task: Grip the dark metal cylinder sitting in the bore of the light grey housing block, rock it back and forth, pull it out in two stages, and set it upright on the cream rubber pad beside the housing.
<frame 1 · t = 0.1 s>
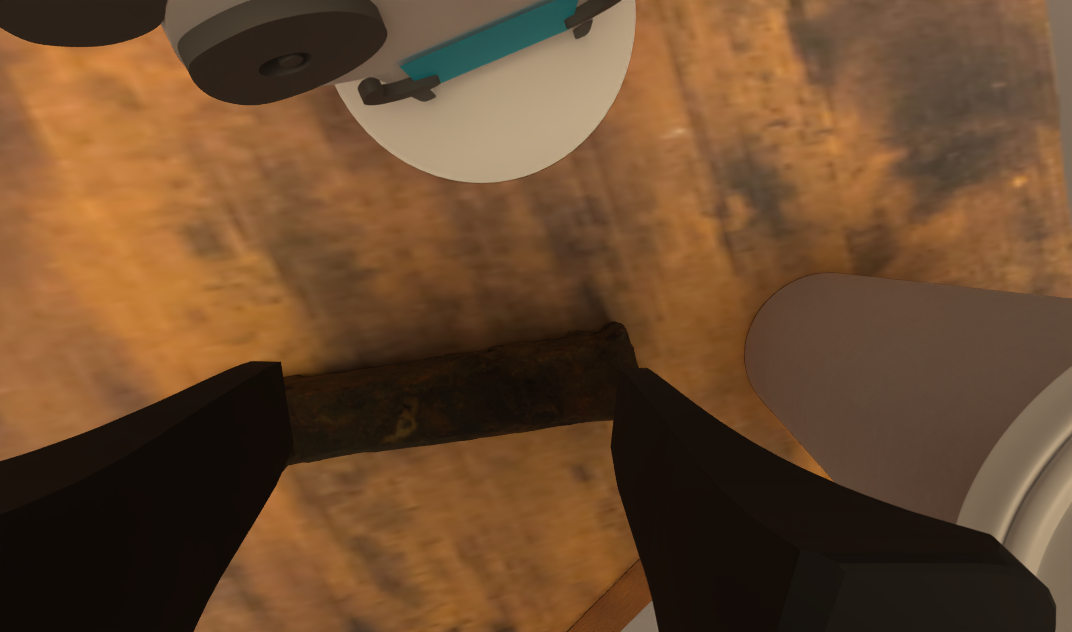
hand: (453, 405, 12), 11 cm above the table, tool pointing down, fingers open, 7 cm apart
panda figurine: (470, 26, 20), on the table
hand tool: (406, 396, 23), on the table
coffee cup: (816, 346, 23), on the table
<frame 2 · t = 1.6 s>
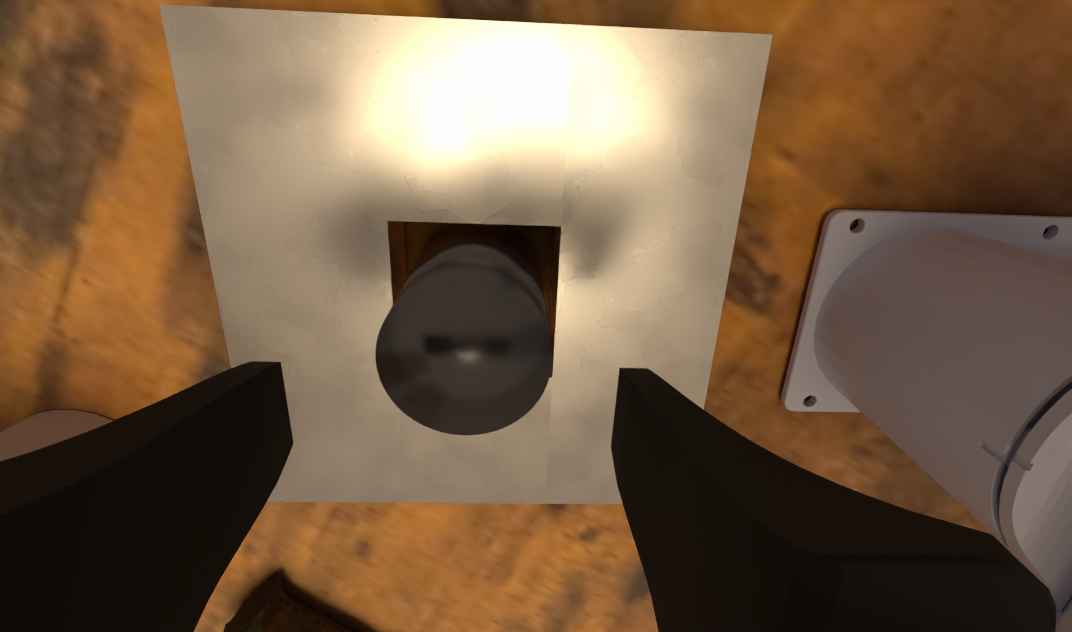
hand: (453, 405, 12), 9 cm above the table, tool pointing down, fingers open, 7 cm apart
housing block: (479, 279, 20), on the table
dark metal cylinder: (473, 312, 17), in the housing block
coffee cup: (92, 473, 22), on the table
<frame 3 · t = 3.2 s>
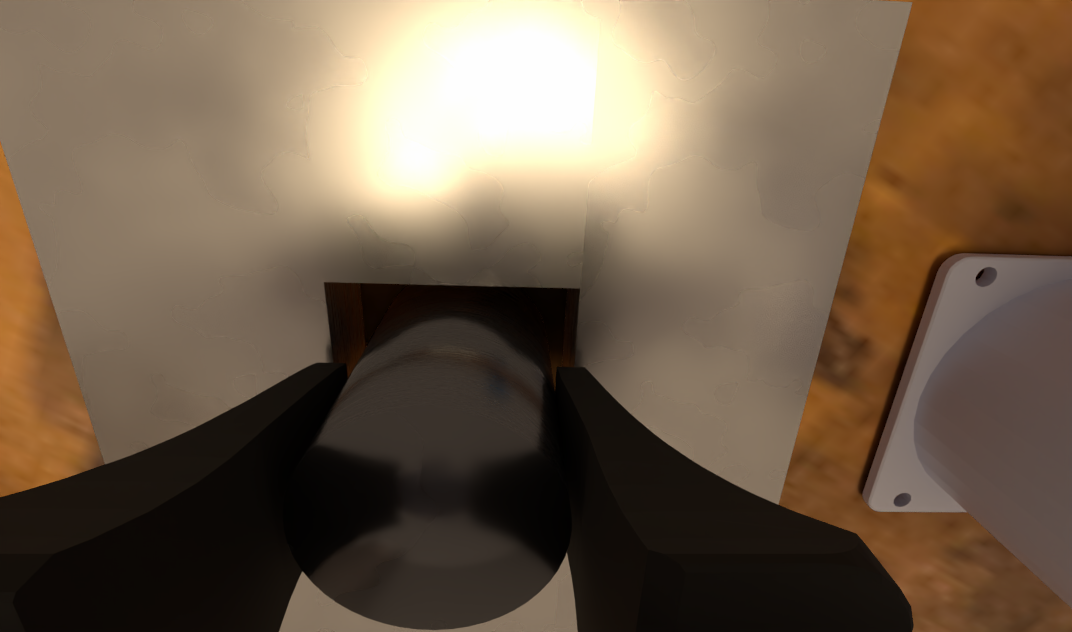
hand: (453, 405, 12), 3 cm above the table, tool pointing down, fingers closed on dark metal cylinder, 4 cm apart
housing block: (465, 346, 14), on the table
dark metal cylinder: (452, 413, 11), in the housing block, touching gripper
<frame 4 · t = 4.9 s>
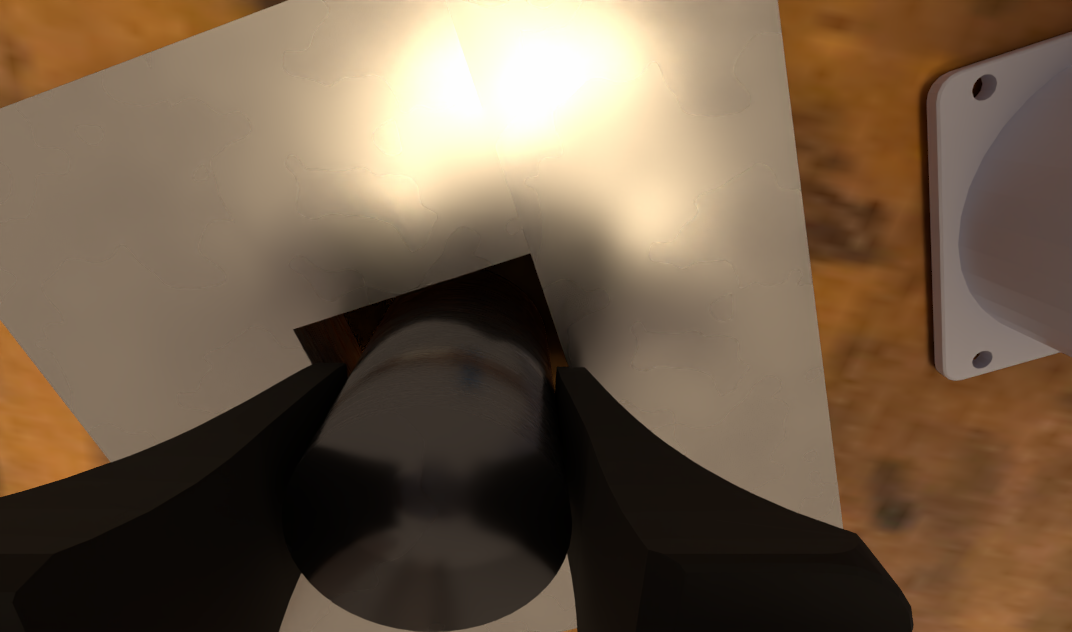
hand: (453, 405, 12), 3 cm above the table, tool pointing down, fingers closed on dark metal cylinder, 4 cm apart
housing block: (464, 347, 14), on the table
dark metal cylinder: (451, 414, 11), in the housing block, touching gripper
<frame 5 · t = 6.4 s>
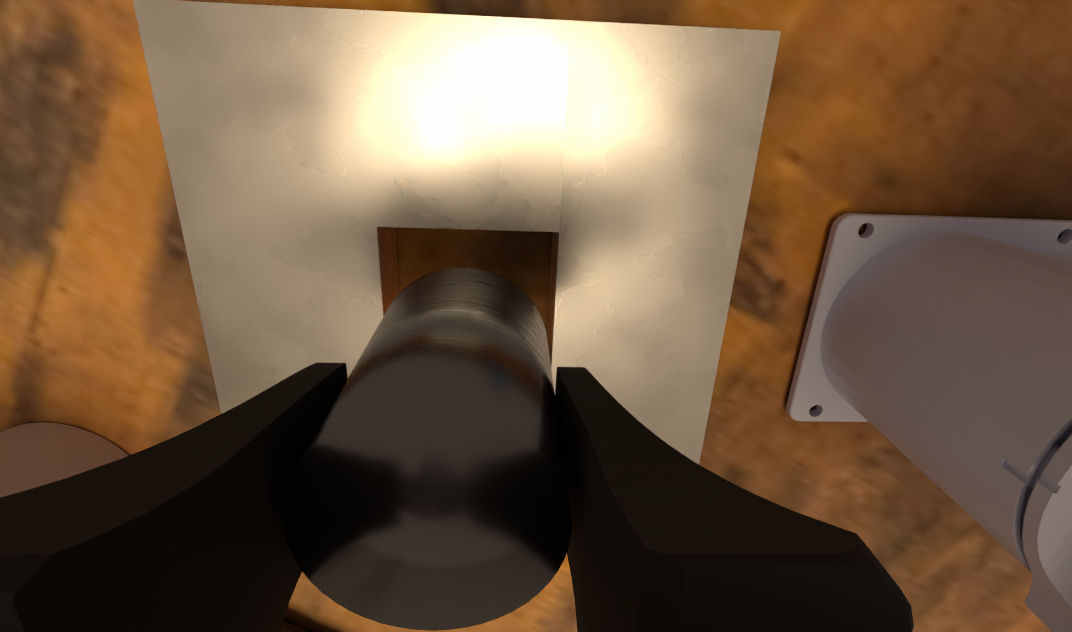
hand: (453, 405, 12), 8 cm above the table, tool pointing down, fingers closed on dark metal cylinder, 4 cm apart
housing block: (474, 286, 19), on the table
dark metal cylinder: (451, 414, 11), point 8 cm above the table, touching gripper
coffee cup: (73, 487, 22), on the table
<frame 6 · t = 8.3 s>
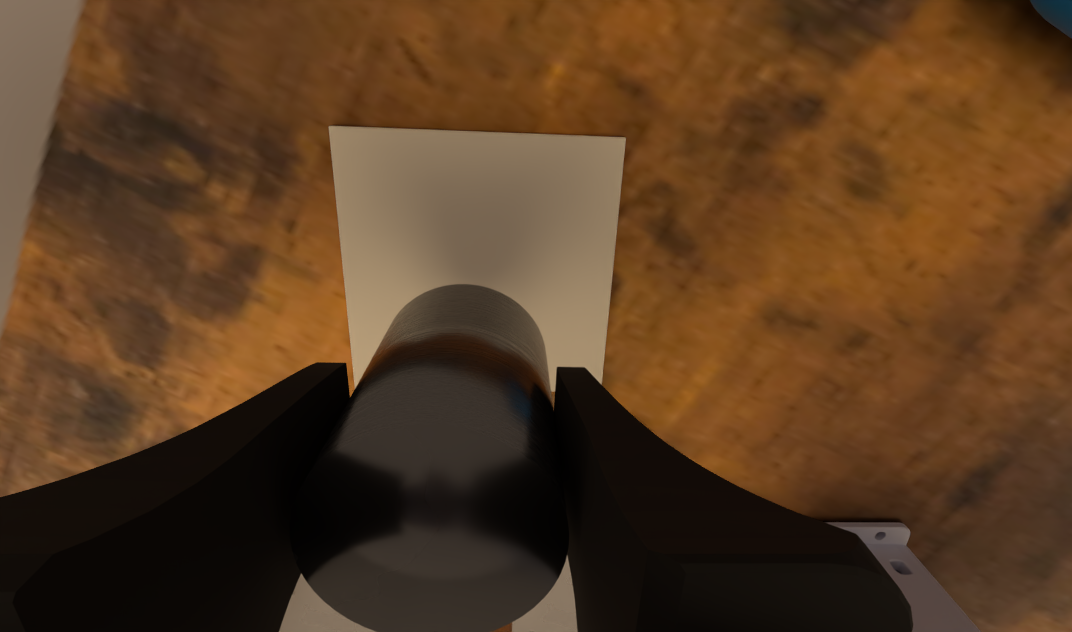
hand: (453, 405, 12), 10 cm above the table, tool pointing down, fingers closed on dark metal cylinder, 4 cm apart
housing block: (459, 565, 26), on the table
dark metal cylinder: (452, 428, 12), point 10 cm above the table, touching gripper
rubber pad: (479, 270, 21), on the table
when the fingers open (5 cm above the table, at t = 9.9 s): dark metal cylinder drops 1 cm, resting on rubber pad.
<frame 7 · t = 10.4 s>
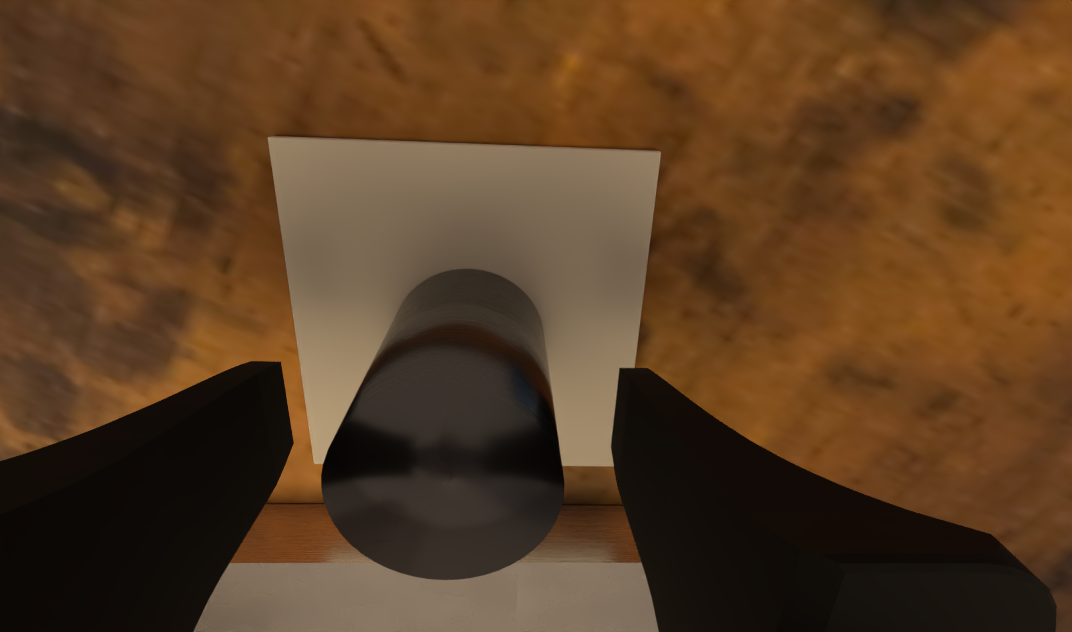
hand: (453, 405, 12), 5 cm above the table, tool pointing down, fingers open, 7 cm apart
dark metal cylinder: (459, 398, 13), on the rubber pad
rubber pad: (470, 319, 16), on the table
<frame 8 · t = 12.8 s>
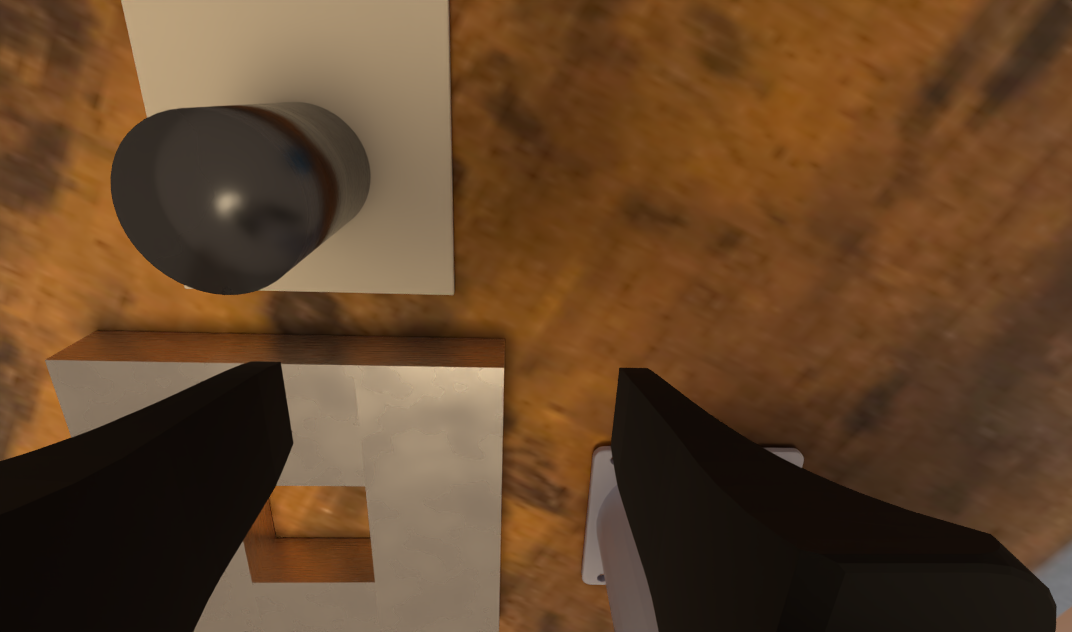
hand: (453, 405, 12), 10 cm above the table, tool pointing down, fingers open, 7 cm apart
housing block: (326, 494, 25), on the table
dark metal cylinder: (267, 185, 16), on the rubber pad
rubber pad: (308, 153, 19), on the table
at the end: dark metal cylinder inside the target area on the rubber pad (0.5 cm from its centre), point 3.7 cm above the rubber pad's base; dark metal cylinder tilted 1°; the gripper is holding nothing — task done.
